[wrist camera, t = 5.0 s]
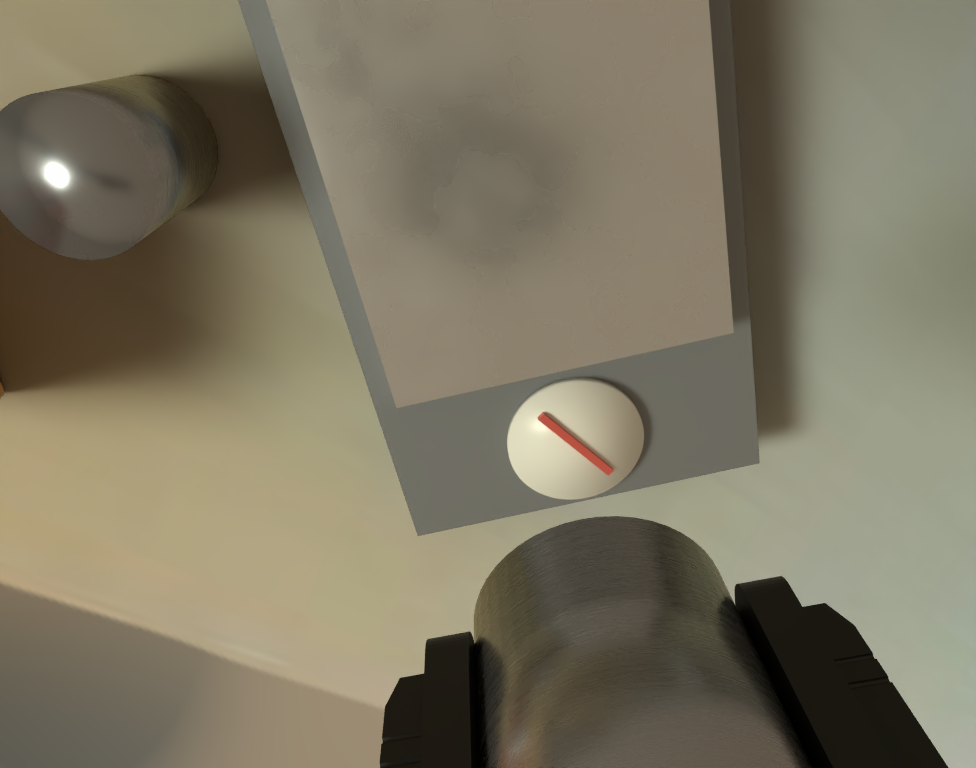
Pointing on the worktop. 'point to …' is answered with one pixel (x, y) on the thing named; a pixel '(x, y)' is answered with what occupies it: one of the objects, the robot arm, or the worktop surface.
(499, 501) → the scale
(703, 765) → the cylinder
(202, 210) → the worktop surface
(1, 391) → the small box
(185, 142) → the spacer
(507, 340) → the shower mixer plate
